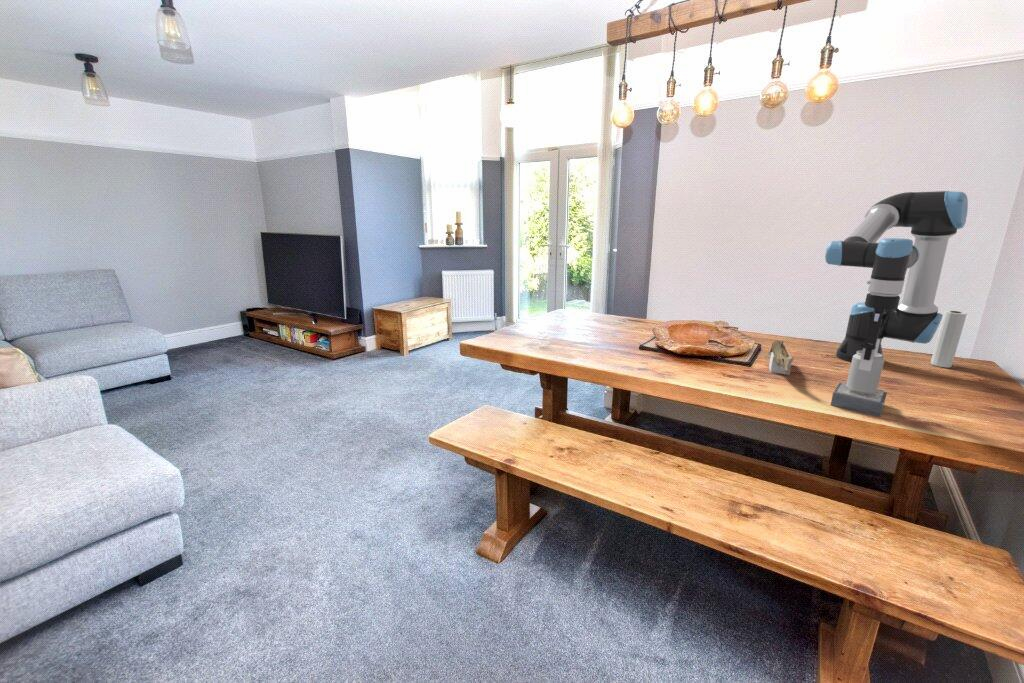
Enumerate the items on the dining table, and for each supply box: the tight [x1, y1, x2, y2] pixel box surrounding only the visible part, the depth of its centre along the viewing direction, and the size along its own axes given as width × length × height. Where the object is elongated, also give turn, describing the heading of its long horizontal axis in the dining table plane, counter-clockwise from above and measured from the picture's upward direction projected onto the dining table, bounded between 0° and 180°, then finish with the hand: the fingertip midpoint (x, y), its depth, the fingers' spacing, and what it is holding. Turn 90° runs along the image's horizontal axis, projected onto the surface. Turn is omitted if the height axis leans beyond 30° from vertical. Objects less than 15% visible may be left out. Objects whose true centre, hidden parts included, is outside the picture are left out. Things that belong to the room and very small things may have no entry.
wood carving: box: [764, 340, 795, 376], centre depth 165 cm, size 9×35×11 cm, turn 156°
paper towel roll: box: [930, 310, 968, 369], centre depth 173 cm, size 7×6×21 cm
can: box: [846, 351, 885, 394], centre depth 136 cm, size 8×8×12 cm
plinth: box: [830, 381, 888, 417], centre depth 138 cm, size 12×12×5 cm
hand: (867, 364), depth 135 cm, fingers open, 13 cm apart
